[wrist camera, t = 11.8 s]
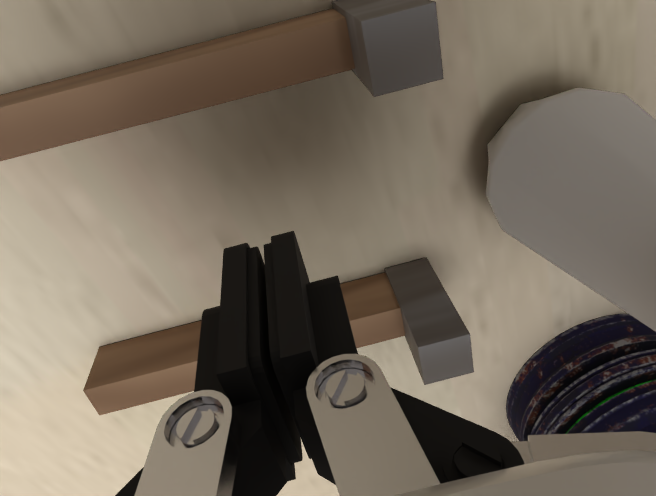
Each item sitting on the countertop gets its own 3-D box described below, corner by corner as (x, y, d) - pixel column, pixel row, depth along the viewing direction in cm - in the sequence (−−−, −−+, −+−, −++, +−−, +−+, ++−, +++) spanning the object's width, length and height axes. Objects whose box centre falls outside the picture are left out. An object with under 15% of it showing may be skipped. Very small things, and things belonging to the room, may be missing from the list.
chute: (-49, 100, 17) (-153, 155, 12) (386, -13, 17) (435, 2, 12) (115, 374, 23) (84, 473, 18) (431, 291, 23) (473, 372, 18)
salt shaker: (637, 84, 19) (1167, 280, 8) (577, 222, 22) (912, 511, 11) (490, 63, 18) (869, 255, 7) (447, 211, 21) (669, 517, 10)
